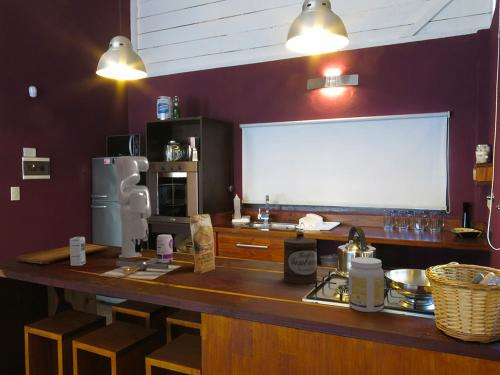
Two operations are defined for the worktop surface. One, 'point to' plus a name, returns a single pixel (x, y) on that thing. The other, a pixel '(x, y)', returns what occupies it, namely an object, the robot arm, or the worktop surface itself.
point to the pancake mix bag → (202, 243)
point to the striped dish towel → (140, 273)
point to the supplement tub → (366, 284)
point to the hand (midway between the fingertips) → (138, 252)
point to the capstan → (141, 265)
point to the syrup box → (77, 251)
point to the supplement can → (164, 248)
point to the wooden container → (300, 259)
